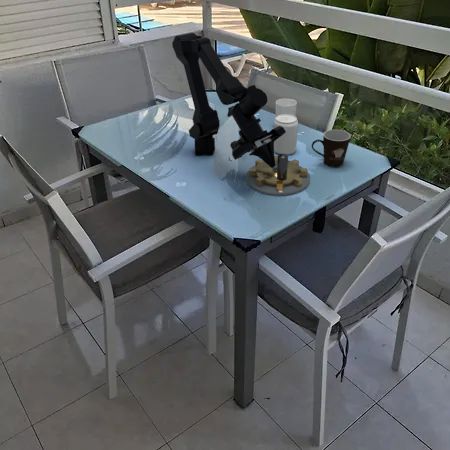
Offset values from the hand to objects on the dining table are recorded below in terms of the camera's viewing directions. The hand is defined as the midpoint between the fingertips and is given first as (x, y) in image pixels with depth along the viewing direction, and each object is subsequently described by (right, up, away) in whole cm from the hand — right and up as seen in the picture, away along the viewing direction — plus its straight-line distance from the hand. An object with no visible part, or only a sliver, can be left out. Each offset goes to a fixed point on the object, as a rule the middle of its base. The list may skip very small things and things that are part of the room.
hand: (273, 167), depth 142 cm
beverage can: (+6, +9, +25) cm, 27 cm away
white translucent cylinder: (+8, +20, +41) cm, 47 cm away
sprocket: (+2, -2, +8) cm, 8 cm away
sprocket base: (+2, -3, +9) cm, 9 cm away
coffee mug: (+20, +4, +17) cm, 27 cm away
